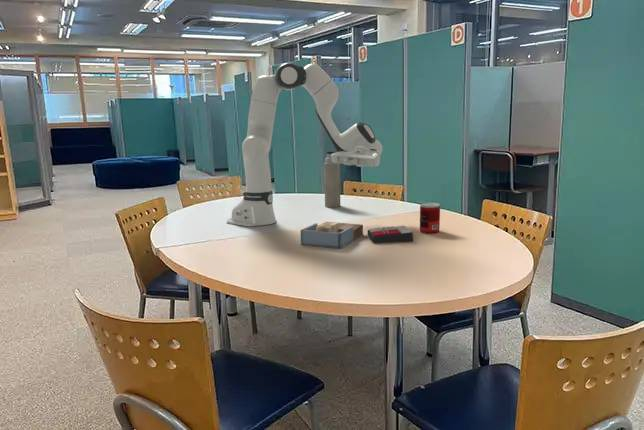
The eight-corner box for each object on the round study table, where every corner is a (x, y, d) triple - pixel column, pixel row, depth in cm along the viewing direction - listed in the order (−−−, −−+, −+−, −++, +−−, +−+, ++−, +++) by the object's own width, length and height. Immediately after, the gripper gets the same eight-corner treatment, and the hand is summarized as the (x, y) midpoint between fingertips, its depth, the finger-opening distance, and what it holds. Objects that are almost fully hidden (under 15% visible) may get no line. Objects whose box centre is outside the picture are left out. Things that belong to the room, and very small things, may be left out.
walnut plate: (315, 236, 195) (315, 227, 194) (326, 231, 203) (326, 221, 203) (353, 240, 188) (353, 230, 187) (363, 234, 197) (362, 224, 196)
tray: (300, 244, 184) (300, 230, 183) (315, 236, 195) (315, 223, 193) (340, 248, 177) (340, 233, 176) (353, 240, 188) (353, 226, 187)
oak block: (326, 237, 191) (316, 242, 183) (326, 221, 189) (315, 227, 182) (338, 238, 188) (328, 244, 181) (338, 222, 187) (328, 228, 179)
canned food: (441, 229, 201) (441, 203, 199) (437, 234, 194) (437, 206, 192) (422, 228, 204) (422, 202, 202) (417, 233, 197) (418, 205, 195)
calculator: (367, 228, 193) (404, 224, 194) (367, 238, 194) (405, 234, 195) (372, 234, 182) (412, 230, 184) (373, 246, 183) (413, 242, 185)
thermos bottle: (341, 204, 259) (340, 150, 253) (339, 207, 251) (338, 152, 246) (326, 204, 261) (325, 151, 255) (323, 207, 253) (322, 152, 247)
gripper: (339, 146, 217) (324, 153, 205) (383, 150, 207) (369, 157, 196) (339, 160, 219) (324, 168, 207) (382, 165, 209) (369, 173, 198)
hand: (346, 163), depth 202 cm, fingers closed
